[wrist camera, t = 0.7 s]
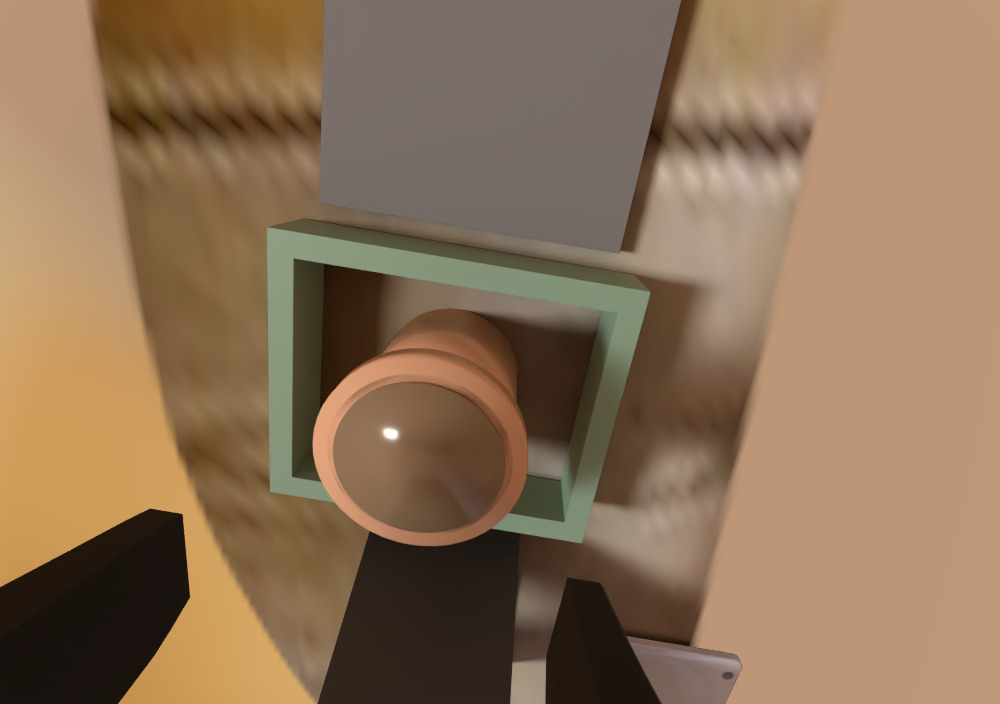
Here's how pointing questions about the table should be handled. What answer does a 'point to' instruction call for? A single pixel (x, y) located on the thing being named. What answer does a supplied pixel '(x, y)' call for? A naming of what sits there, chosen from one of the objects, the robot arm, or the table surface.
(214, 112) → the table surface
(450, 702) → the phone stand
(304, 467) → the frame
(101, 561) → the robot arm
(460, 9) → the slate mat
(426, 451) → the terracotta pot
